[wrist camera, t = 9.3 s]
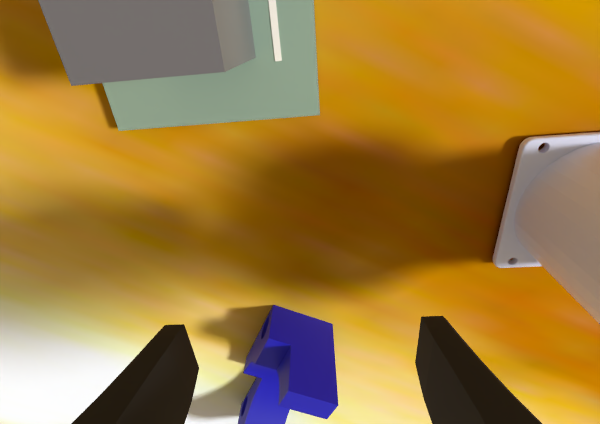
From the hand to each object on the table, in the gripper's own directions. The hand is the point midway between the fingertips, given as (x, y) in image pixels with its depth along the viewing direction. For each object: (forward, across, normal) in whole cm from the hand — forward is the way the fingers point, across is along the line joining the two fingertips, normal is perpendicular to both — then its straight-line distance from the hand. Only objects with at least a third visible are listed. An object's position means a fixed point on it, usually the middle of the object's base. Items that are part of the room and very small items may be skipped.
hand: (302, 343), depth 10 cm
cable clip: (+10, +4, +14) cm, 18 cm away
